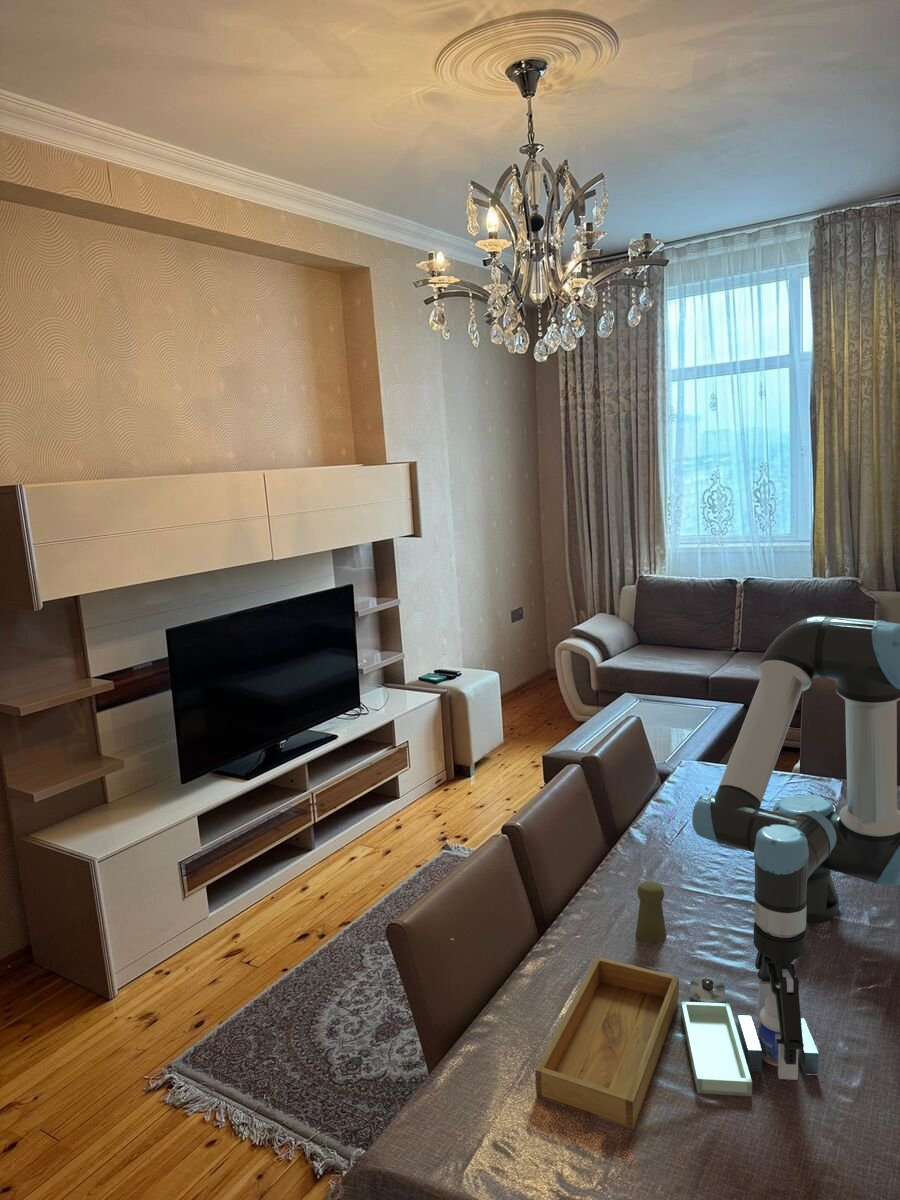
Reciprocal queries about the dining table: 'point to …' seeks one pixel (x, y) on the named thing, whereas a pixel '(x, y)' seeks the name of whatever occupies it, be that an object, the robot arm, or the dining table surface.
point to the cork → (650, 913)
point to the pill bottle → (769, 1030)
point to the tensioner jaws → (754, 1051)
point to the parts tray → (715, 1049)
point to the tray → (609, 1042)
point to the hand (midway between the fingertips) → (776, 1046)
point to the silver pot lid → (707, 990)
